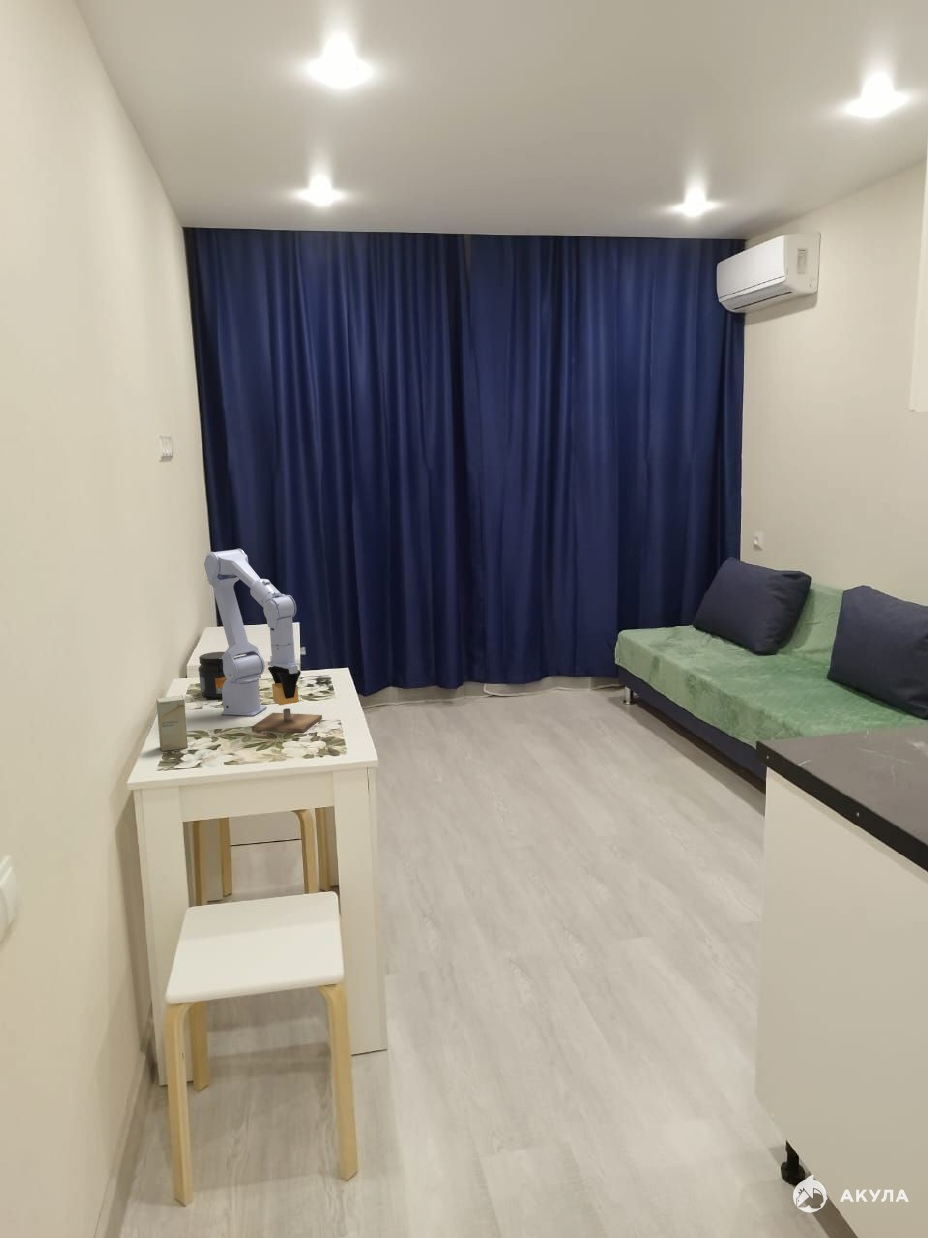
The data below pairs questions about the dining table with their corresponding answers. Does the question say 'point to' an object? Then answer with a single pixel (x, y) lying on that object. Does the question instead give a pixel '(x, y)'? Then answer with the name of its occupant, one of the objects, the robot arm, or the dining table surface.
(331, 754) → the dining table surface
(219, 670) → the supplement container
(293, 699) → the mustard tilted cube
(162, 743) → the skincare box
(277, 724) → the brown flat block
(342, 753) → the dining table surface
